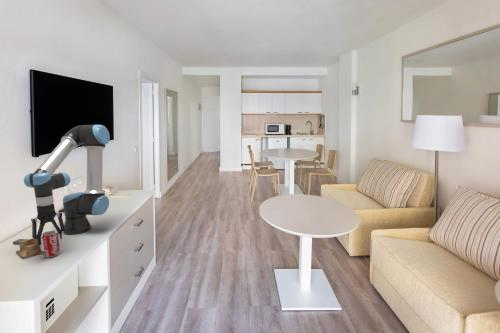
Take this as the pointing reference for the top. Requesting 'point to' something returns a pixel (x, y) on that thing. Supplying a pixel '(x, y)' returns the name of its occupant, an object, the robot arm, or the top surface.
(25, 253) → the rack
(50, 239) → the soda can
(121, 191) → the top surface
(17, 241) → the remote
